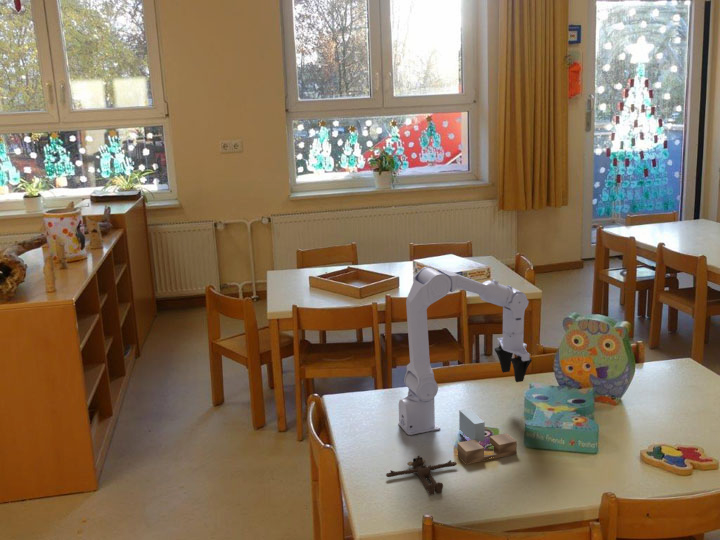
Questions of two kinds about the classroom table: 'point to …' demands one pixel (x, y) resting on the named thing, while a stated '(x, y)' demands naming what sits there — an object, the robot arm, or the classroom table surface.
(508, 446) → the brown u-shaped block
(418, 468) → the brown monkey toy
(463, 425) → the pale grey-blue block
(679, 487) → the classroom table surface
